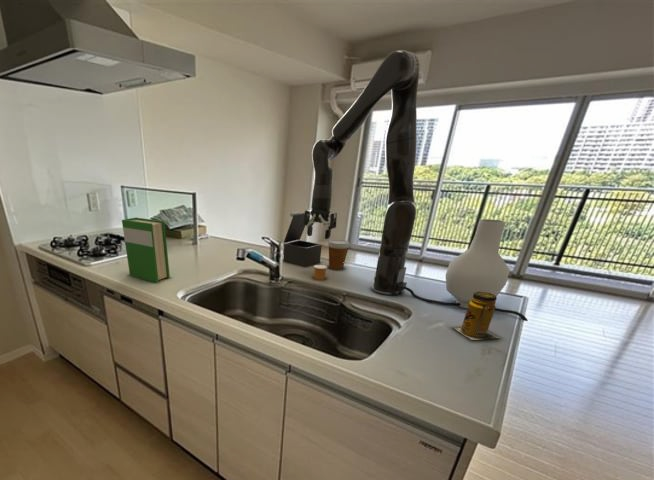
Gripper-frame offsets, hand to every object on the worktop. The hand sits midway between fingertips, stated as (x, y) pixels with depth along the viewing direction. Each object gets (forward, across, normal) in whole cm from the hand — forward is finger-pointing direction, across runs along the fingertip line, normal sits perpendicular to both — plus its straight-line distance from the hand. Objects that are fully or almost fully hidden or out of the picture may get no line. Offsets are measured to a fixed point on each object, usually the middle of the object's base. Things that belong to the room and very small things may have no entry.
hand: (318, 237), depth 140 cm
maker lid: (0, -20, +12) cm, 23 cm away
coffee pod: (+16, +4, -3) cm, 17 cm away
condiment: (+17, +64, -12) cm, 67 cm away
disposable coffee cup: (+16, +1, +15) cm, 22 cm away
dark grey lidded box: (+16, -16, +12) cm, 26 cm away
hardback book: (+16, -48, -55) cm, 74 cm away
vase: (+17, +56, +10) cm, 59 cm away
